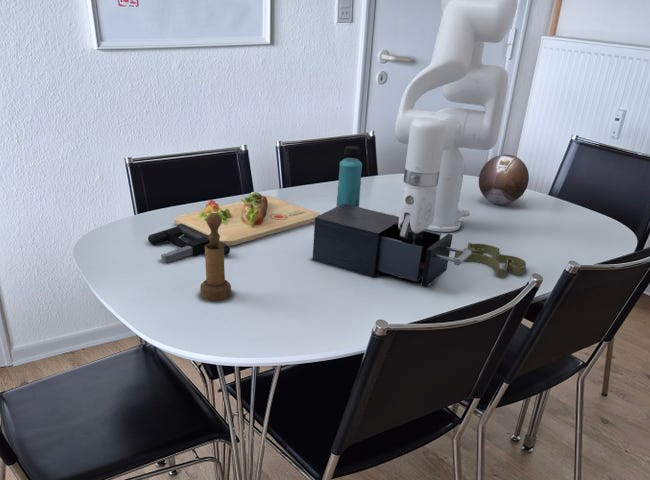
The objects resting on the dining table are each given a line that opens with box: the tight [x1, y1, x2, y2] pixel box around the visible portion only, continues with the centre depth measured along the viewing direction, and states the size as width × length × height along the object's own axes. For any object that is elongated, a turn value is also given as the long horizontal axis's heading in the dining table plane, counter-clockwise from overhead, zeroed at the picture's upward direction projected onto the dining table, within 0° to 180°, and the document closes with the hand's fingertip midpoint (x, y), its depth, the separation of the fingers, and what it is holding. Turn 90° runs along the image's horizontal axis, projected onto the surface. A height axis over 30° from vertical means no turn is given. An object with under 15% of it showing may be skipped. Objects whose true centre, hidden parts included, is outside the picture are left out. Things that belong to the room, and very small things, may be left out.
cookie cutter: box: [453, 242, 527, 278], centre depth 162 cm, size 18×12×2 cm, turn 43°
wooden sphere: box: [478, 154, 530, 205], centre depth 203 cm, size 15×15×15 cm
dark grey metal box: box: [312, 204, 399, 278], centre depth 158 cm, size 17×14×11 cm
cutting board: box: [173, 191, 321, 247], centre depth 178 cm, size 35×23×8 cm
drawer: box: [376, 225, 472, 288], centre depth 150 cm, size 22×13×9 cm, turn 58°
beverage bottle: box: [336, 145, 363, 207], centre depth 182 cm, size 6×7×20 cm
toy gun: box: [147, 224, 231, 264], centre depth 160 cm, size 3×20×16 cm
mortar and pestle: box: [199, 213, 232, 302], centre depth 135 cm, size 7×6×18 cm
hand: (409, 256), depth 152 cm, fingers closed on lid, 2 cm apart
